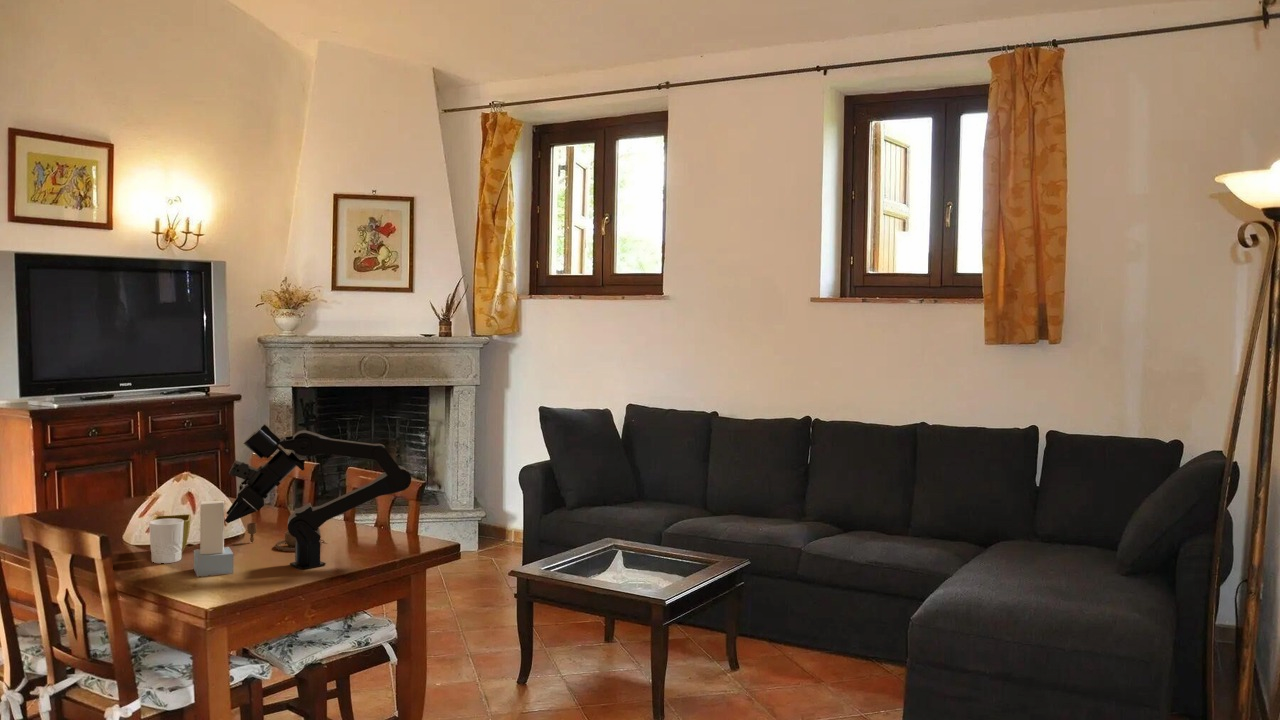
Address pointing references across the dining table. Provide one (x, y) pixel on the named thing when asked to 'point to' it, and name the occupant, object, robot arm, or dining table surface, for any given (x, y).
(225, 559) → the base block
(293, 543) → the place setting
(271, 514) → the dining table surface
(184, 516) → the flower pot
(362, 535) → the dining table surface
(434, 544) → the dining table surface
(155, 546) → the white cup
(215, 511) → the pillar
